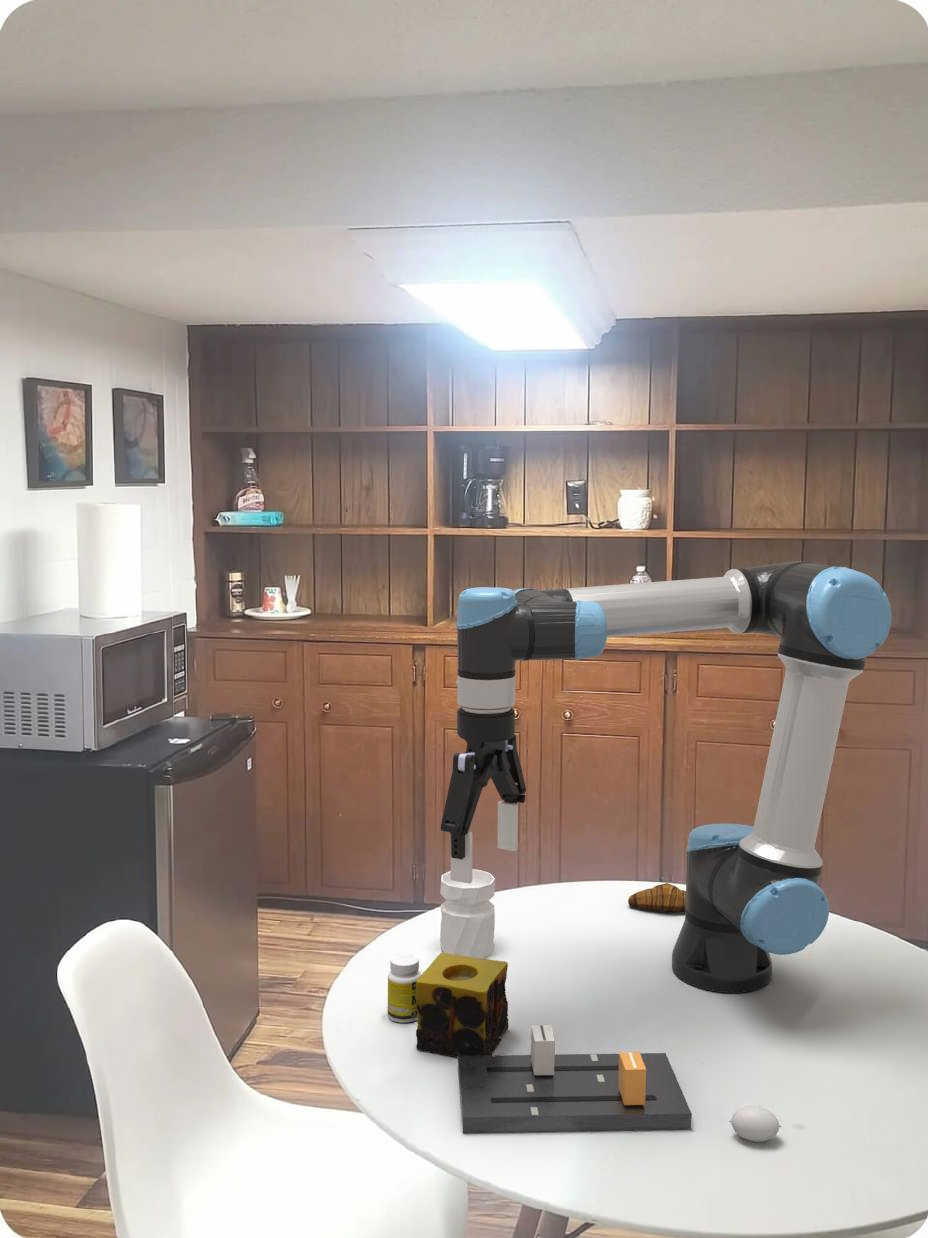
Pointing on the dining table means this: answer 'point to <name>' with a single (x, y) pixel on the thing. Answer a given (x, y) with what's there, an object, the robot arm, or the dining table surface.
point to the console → (566, 1095)
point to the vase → (468, 915)
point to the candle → (461, 1006)
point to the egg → (755, 1123)
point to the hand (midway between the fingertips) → (485, 864)
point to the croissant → (660, 899)
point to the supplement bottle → (403, 988)
